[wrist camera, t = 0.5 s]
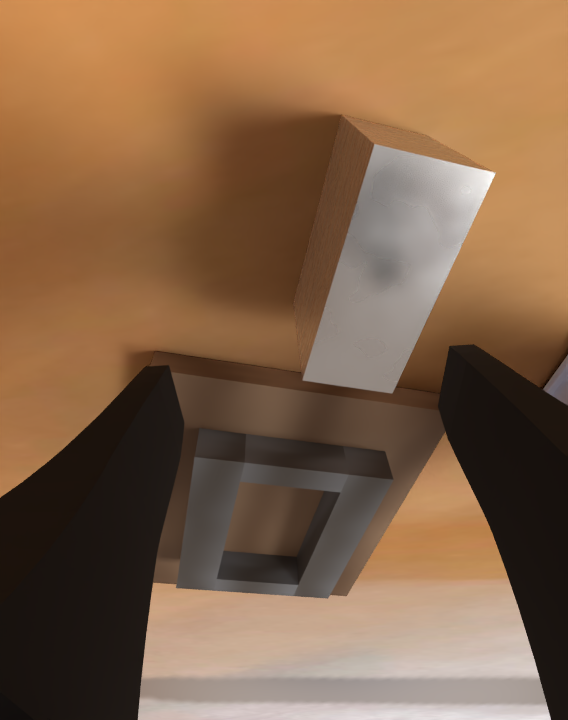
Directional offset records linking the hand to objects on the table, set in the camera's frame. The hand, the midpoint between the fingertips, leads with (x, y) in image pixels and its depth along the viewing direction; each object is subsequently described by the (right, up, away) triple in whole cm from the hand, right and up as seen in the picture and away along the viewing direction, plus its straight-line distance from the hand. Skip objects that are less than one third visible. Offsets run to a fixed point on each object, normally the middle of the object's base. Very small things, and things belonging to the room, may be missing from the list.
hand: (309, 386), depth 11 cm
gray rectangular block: (+2, +6, +7) cm, 10 cm away
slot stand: (-1, -8, +17) cm, 19 cm away
